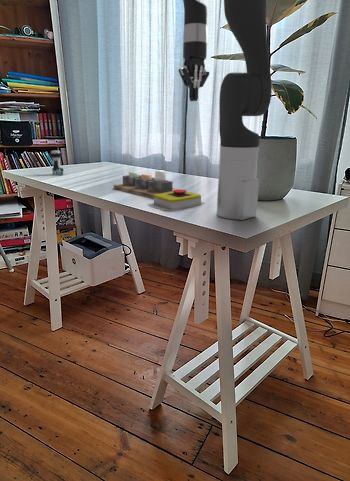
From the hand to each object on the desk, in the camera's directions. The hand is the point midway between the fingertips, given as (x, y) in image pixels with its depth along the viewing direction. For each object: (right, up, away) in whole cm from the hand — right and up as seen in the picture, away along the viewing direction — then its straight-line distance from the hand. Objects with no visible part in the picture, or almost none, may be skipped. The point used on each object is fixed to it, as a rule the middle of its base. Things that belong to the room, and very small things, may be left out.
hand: (193, 100), depth 114 cm
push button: (-57, -19, +33) cm, 68 cm away
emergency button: (-6, -37, -15) cm, 41 cm away
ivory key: (-11, -28, -4) cm, 31 cm away
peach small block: (-16, -29, +2) cm, 33 cm away
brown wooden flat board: (-16, -30, +2) cm, 34 cm away
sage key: (-21, -27, +6) cm, 34 cm away
